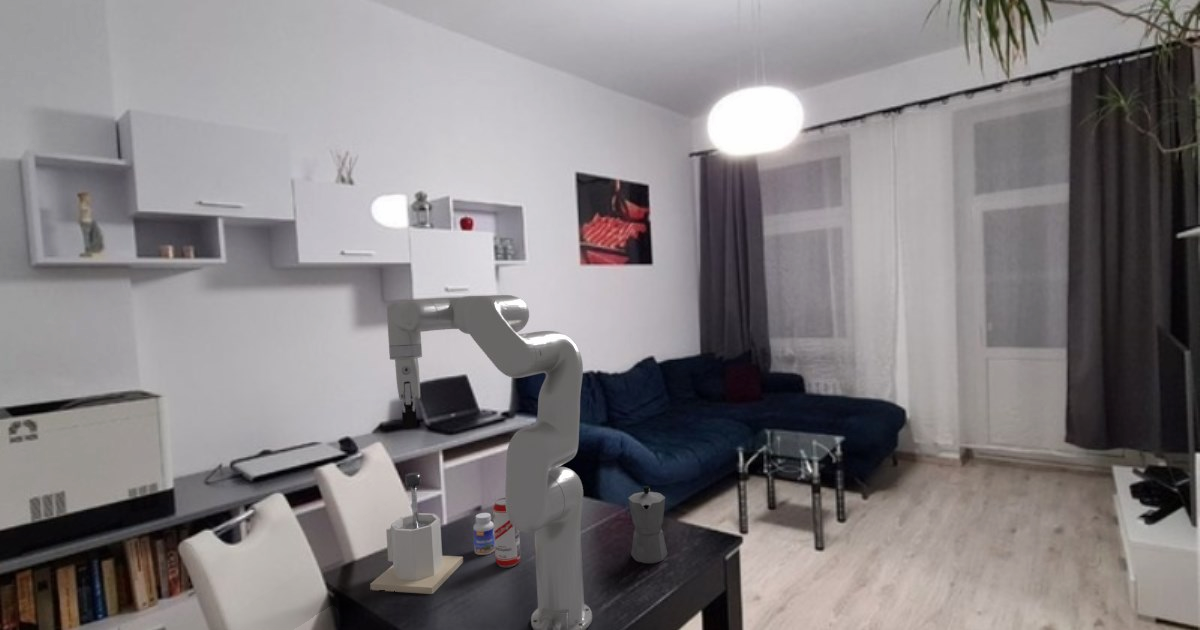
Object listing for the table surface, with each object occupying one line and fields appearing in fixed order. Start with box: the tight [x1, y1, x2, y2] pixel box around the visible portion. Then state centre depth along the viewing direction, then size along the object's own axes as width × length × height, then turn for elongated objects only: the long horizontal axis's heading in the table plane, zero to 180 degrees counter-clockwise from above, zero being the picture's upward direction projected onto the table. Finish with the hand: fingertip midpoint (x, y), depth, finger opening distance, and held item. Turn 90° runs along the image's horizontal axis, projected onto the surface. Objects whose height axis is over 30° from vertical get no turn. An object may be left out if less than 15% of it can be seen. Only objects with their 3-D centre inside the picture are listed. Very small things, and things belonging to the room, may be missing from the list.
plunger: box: [400, 471, 431, 529], centre depth 143 cm, size 8×8×14 cm
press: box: [369, 512, 464, 595], centre depth 143 cm, size 16×16×14 cm
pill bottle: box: [473, 512, 495, 556], centre depth 156 cm, size 5×5×10 cm
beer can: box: [492, 497, 522, 568], centre depth 148 cm, size 6×6×16 cm
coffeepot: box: [627, 485, 668, 564], centre depth 149 cm, size 15×9×18 cm, turn 174°
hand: (410, 426), depth 142 cm, fingers closed
